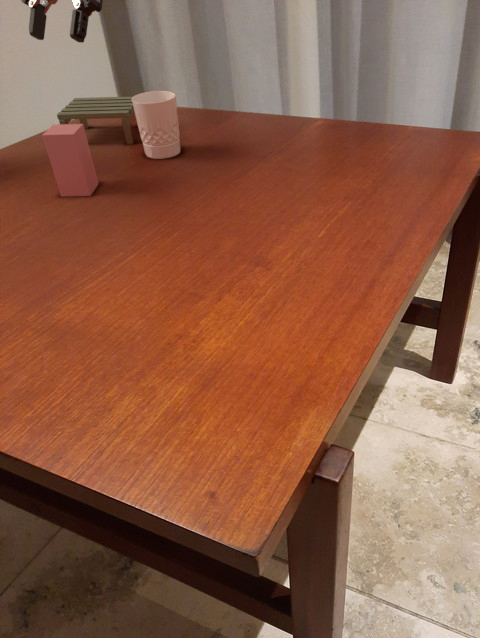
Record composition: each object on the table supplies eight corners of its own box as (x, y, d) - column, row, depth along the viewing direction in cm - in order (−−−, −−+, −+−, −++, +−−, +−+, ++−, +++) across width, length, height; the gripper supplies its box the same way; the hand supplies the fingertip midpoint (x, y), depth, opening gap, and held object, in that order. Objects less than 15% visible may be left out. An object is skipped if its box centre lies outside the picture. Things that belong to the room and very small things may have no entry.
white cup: (170, 143, 110) (161, 88, 104) (191, 152, 106) (183, 96, 99) (135, 153, 107) (123, 97, 100) (155, 163, 102) (145, 105, 95)
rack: (65, 146, 111) (56, 114, 107) (82, 127, 120) (74, 97, 116) (133, 144, 110) (127, 112, 107) (146, 125, 119) (140, 95, 115)
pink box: (61, 196, 92) (41, 134, 86) (70, 184, 96) (52, 124, 89) (90, 196, 92) (73, 134, 85) (98, 184, 96) (83, 123, 89)
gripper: (14, -95, 80) (2, 26, 83) (87, -101, 75) (71, 29, 78) (55, -63, 87) (43, 47, 90) (125, -66, 81) (109, 52, 85)
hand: (56, 39), depth 84 cm, fingers open, 8 cm apart
